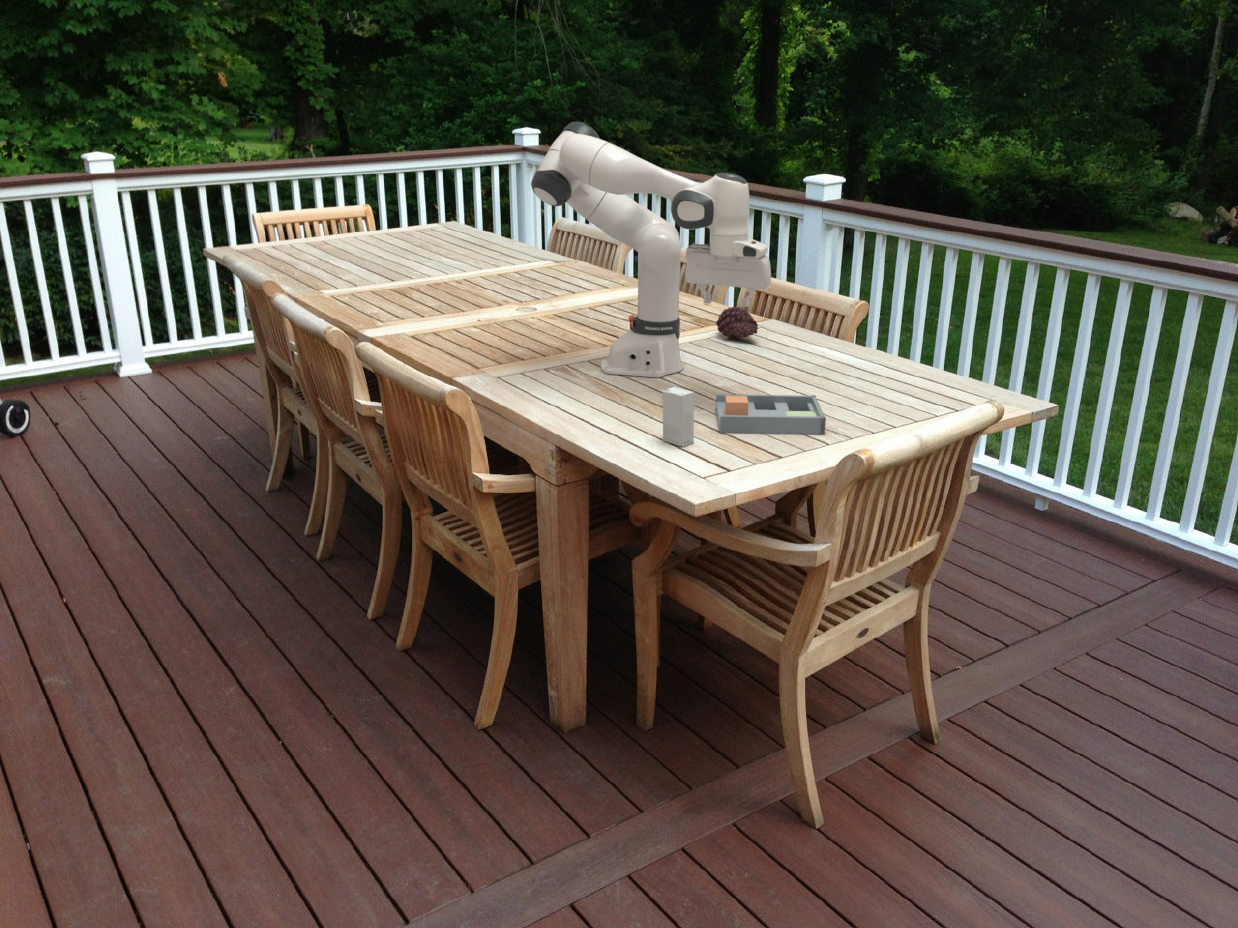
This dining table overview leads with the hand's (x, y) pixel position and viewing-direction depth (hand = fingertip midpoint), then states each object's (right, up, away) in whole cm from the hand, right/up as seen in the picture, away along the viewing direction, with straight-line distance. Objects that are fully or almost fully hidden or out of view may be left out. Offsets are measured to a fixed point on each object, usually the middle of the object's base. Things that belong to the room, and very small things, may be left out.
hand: (726, 304), depth 258 cm
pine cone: (+10, -1, +70) cm, 70 cm away
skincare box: (-12, -33, -13) cm, 38 cm away
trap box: (+10, -28, +1) cm, 29 cm away
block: (+2, -26, -3) cm, 27 cm away
